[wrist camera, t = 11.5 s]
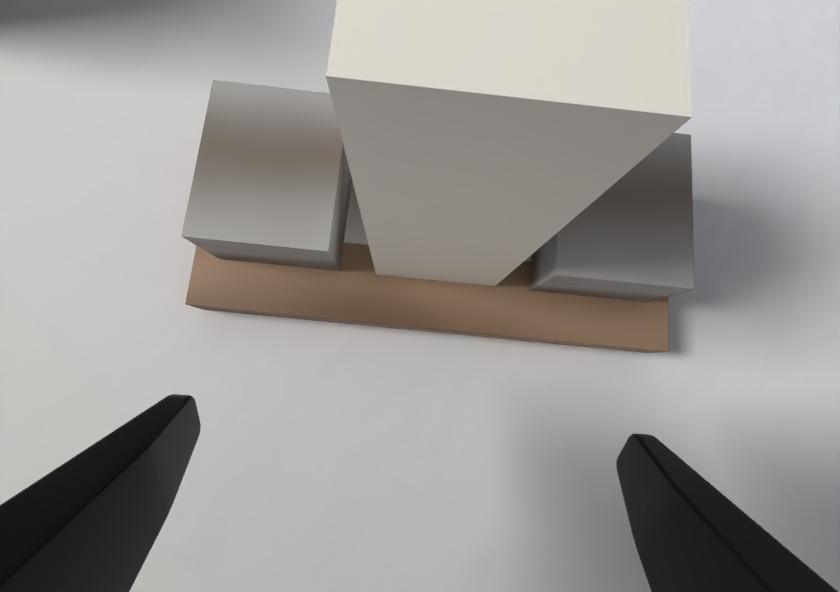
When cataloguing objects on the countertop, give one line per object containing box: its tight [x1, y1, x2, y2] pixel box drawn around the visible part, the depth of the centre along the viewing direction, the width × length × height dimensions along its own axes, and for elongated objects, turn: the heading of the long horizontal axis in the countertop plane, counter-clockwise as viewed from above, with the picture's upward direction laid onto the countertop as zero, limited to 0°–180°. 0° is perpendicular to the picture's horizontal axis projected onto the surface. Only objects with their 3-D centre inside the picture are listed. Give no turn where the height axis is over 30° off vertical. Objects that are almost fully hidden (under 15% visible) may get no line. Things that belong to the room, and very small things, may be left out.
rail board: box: [182, 80, 694, 353], centre depth 17 cm, size 10×20×4 cm, turn 85°
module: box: [326, 0, 692, 286], centre depth 12 cm, size 6×5×12 cm
